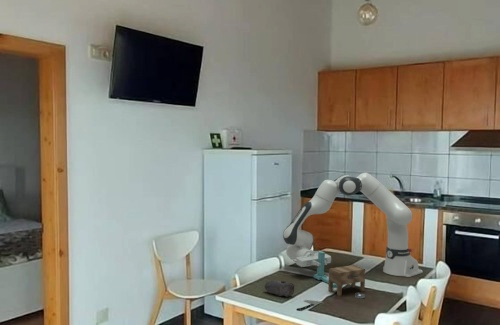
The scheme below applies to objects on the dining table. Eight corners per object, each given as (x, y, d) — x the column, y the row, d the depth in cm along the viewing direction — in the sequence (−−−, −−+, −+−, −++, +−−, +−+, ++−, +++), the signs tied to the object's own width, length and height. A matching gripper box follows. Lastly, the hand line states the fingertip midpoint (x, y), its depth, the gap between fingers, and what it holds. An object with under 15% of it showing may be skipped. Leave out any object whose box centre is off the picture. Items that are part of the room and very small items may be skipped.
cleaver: (283, 306, 203) (300, 312, 196) (283, 305, 203) (300, 311, 196) (324, 292, 223) (341, 297, 216) (324, 291, 223) (341, 296, 216)
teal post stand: (312, 277, 242) (313, 251, 241) (322, 275, 246) (324, 250, 244) (332, 287, 228) (333, 260, 227) (342, 286, 232) (344, 258, 230)
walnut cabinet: (353, 286, 232) (354, 264, 231) (365, 291, 224) (366, 269, 223) (328, 290, 224) (329, 268, 223) (340, 296, 216) (340, 273, 216)
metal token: (361, 295, 219) (362, 292, 219) (366, 298, 214) (366, 295, 214) (353, 296, 218) (353, 292, 218) (357, 299, 213) (357, 295, 213)
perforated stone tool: (261, 293, 219) (262, 278, 218) (267, 290, 223) (267, 276, 223) (289, 299, 211) (290, 284, 210) (295, 296, 215) (295, 282, 215)
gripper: (291, 253, 247) (306, 260, 235) (321, 250, 257) (337, 256, 245) (291, 265, 247) (306, 272, 235) (321, 261, 257) (337, 267, 245)
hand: (322, 264), depth 240 cm, fingers closed on teal post stand, 2 cm apart
